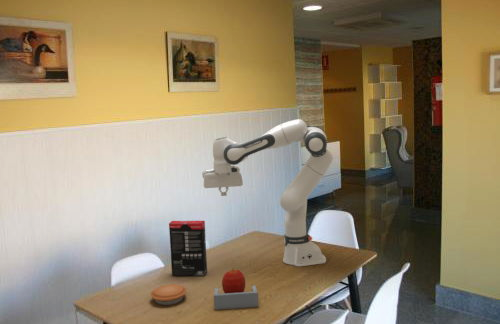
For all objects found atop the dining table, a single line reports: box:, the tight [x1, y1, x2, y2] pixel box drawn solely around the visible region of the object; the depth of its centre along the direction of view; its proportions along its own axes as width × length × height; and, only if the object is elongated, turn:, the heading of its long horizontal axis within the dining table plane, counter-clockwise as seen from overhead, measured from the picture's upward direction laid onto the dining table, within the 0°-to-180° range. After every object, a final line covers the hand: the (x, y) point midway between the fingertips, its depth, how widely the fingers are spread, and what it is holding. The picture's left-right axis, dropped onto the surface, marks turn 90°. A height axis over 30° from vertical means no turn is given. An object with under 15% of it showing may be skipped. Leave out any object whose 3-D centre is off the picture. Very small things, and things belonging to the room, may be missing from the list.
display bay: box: [213, 285, 259, 311], centre depth 198 cm, size 18×16×6 cm
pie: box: [150, 283, 188, 306], centre depth 202 cm, size 15×16×5 cm
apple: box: [221, 268, 246, 294], centre depth 198 cm, size 10×10×14 cm
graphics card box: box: [168, 220, 208, 277], centre depth 230 cm, size 17×7×27 cm, turn 84°
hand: (223, 195), depth 240 cm, fingers closed
